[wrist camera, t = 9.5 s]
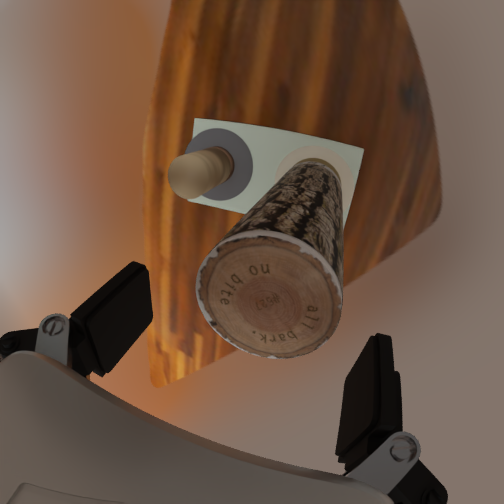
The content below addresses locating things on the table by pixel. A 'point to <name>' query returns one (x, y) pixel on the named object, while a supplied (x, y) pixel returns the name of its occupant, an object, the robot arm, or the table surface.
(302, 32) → the table surface
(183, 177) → the beige rounded cylinder
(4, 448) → the robot arm
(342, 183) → the cream pad
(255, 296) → the brown bark cylinder
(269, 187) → the board
